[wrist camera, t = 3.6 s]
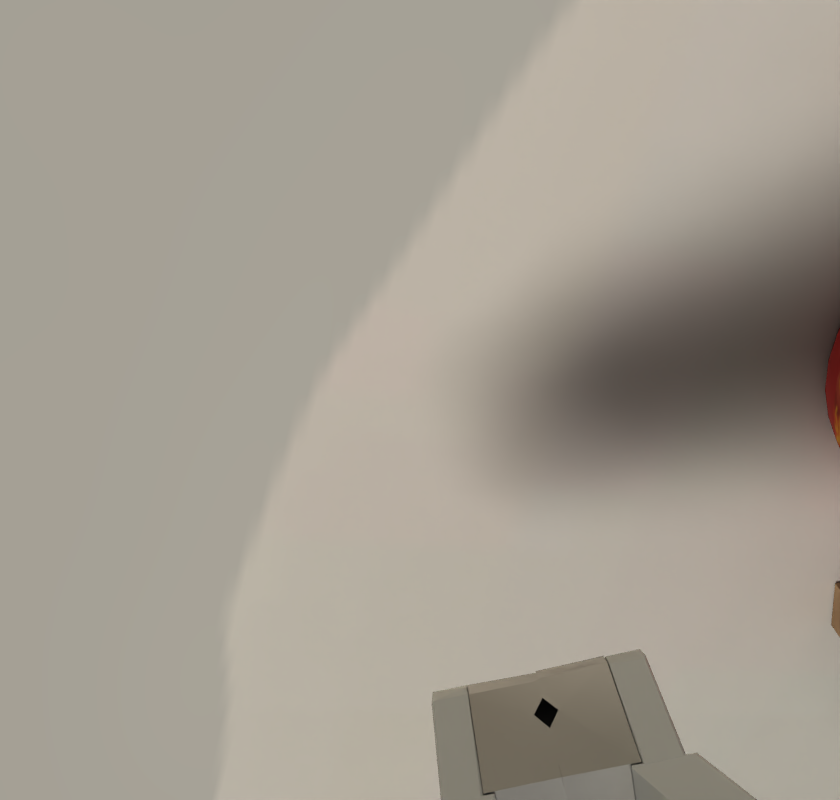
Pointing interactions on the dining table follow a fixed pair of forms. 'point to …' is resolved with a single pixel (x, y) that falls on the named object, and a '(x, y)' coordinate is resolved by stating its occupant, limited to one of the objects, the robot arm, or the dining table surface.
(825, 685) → the dining table surface
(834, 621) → the bay
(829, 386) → the canned food
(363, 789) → the dining table surface
